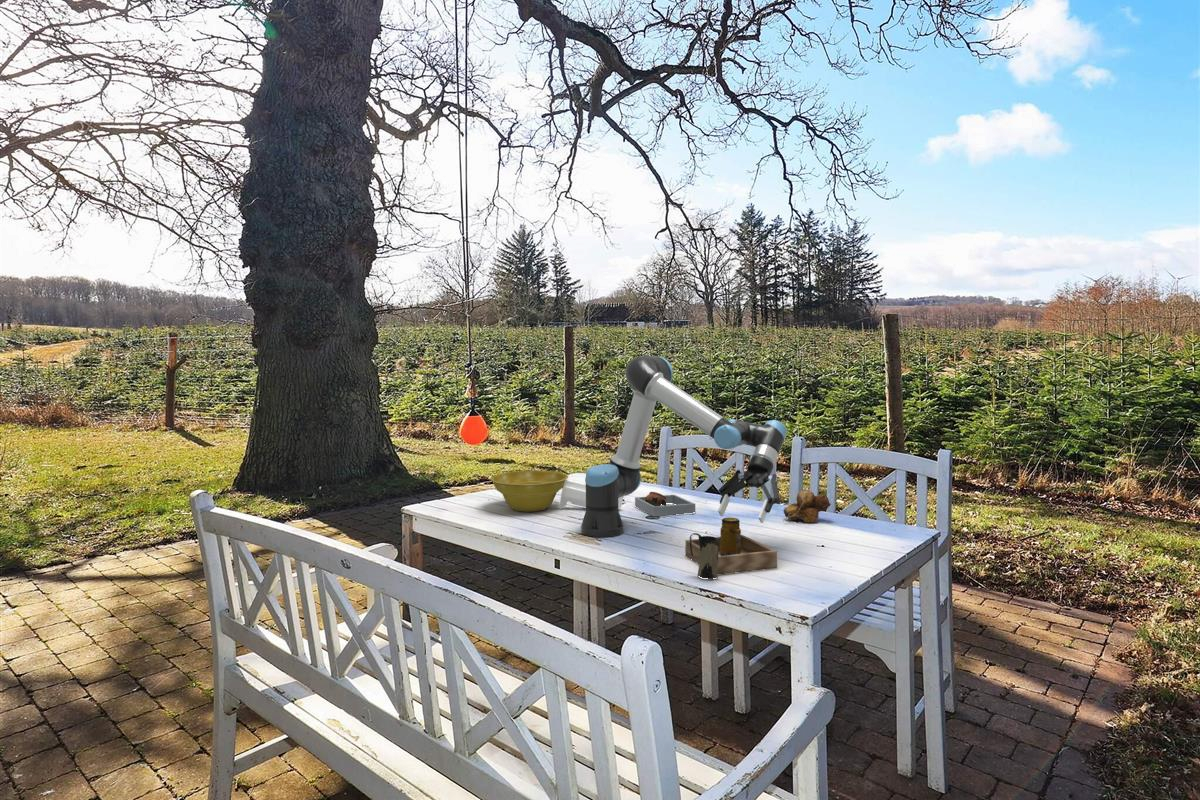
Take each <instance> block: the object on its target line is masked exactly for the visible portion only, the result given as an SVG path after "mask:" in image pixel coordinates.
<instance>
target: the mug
mask: <svg viewBox="0 0 1200 800" xmlns="http://www.w3.org/2000/svg"><path fill="white" fill-rule="evenodd" d="M693 535H696V536H698V539H699V564H698V571H697V577H698V576H700V577H702V578H708V579H713V578H716V577H717V578H718V576H719V575H718V545H717V538H715V536H710V535H703V536H702V535H701V534H700V533H697V532H693V533H692V534H691V535H690V536H689V540H690V550H691V555H692V557H693V558H698V557H694V556H693V553H692V541H691V540H692V536H693Z"/></svg>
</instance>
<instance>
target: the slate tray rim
mask: <svg viewBox="0 0 1200 800" xmlns="http://www.w3.org/2000/svg"><path fill="white" fill-rule="evenodd" d="M664 496H665V497H666V503H674V504H676V505H666V506H664V505H660V506H653V505H651V504H649V503H647V502H645V498H646V496H639V497H638V496H637V497H636V496H635V497H634V507H635V506H636V507H638V508H639V509H638V508H637V509H638V510H640V509H641V510H643V511H645V512H647V513H648V514H647V513H646V514H647V515H649V514H650V515H652V516H663V517H665V516H664V515H675V516H677V515H676V514H684V513H693V512H695V513H696V503H694V502H693V501H690V500H688V499H686V498H684V497H681V496H679V495H676V494H666V495H665V494H664ZM636 507H635V508H636ZM641 510H640V511H641ZM643 511H642V512H643ZM645 512H644V513H645ZM650 515H649V516H650ZM652 516H651V517H652Z"/></svg>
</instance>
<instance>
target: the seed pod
mask: <svg viewBox="0 0 1200 800" xmlns="http://www.w3.org/2000/svg"><path fill="white" fill-rule="evenodd" d="M831 506H832V503H830V500H829V498H828V496H826V495H825V494H824V493H823V494H817V495H815V493H814V492H812V491H811V490H809V489H805V490H800V491H799V492H798V493H797V495H796V503H795V502H794V503H791V504H789V505H788V506H786V507H784V509H783V513H784V517H785V518H784V519H782V521H783V522H784V521H786V520H787V519H788V520H792V521H797V520H798V519H801V520H802V521H803V522H804V523H807V524H808V523H816V522H817V520H818V519H819V518H820V517H819V515H820V512H824V511H827V510H828V509H829V507H831Z"/></svg>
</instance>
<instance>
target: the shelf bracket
mask: <svg viewBox="0 0 1200 800" xmlns="http://www.w3.org/2000/svg"><path fill="white" fill-rule="evenodd" d="M560 494H561V495H560V501H559V506H558V510H561V509H563V508H565V507H566V506H567V503H569V502H570V503H571V504H572V505H574V506H579V507H583V508H586V482H585V483H584V482H580V481H575V480H570V479H566V480H565V482H564V485H563V488H562V489H561V493H560ZM624 497H625V496H622V497H620V498H618V509H621V508H622V506H623V501H624Z"/></svg>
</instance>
